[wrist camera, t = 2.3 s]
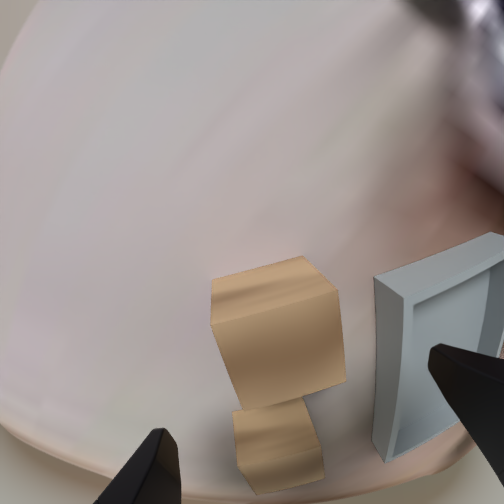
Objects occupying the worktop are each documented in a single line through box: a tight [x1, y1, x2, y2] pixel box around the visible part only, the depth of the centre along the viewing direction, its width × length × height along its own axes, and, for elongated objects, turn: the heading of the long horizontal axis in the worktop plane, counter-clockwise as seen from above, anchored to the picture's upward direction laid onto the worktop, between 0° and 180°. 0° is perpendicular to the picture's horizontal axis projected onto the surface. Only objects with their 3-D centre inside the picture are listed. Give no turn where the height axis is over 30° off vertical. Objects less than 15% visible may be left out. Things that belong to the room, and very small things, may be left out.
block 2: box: [232, 396, 325, 495], centre depth 15 cm, size 4×4×4 cm
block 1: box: [210, 256, 346, 411], centre depth 12 cm, size 4×4×4 cm
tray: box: [372, 232, 504, 464], centre depth 16 cm, size 16×11×3 cm
